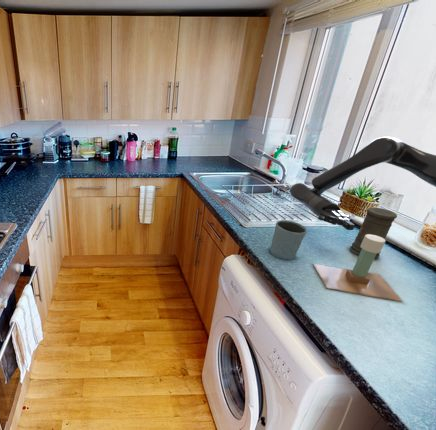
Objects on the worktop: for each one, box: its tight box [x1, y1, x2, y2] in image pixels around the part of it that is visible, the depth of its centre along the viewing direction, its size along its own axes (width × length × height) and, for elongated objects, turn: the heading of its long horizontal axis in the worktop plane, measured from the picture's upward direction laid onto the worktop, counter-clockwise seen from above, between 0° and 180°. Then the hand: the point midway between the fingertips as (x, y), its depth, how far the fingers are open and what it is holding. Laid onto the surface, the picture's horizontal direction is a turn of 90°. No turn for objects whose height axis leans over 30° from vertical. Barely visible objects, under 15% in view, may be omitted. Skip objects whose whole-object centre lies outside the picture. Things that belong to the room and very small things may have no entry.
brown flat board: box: [312, 263, 403, 303], centre depth 96 cm, size 20×14×1 cm
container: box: [349, 207, 398, 260], centre depth 109 cm, size 9×9×18 cm
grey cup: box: [269, 219, 308, 260], centre depth 108 cm, size 10×10×12 cm
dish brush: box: [345, 234, 387, 285], centre depth 93 cm, size 5×5×16 cm
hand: (351, 227), depth 99 cm, fingers closed
